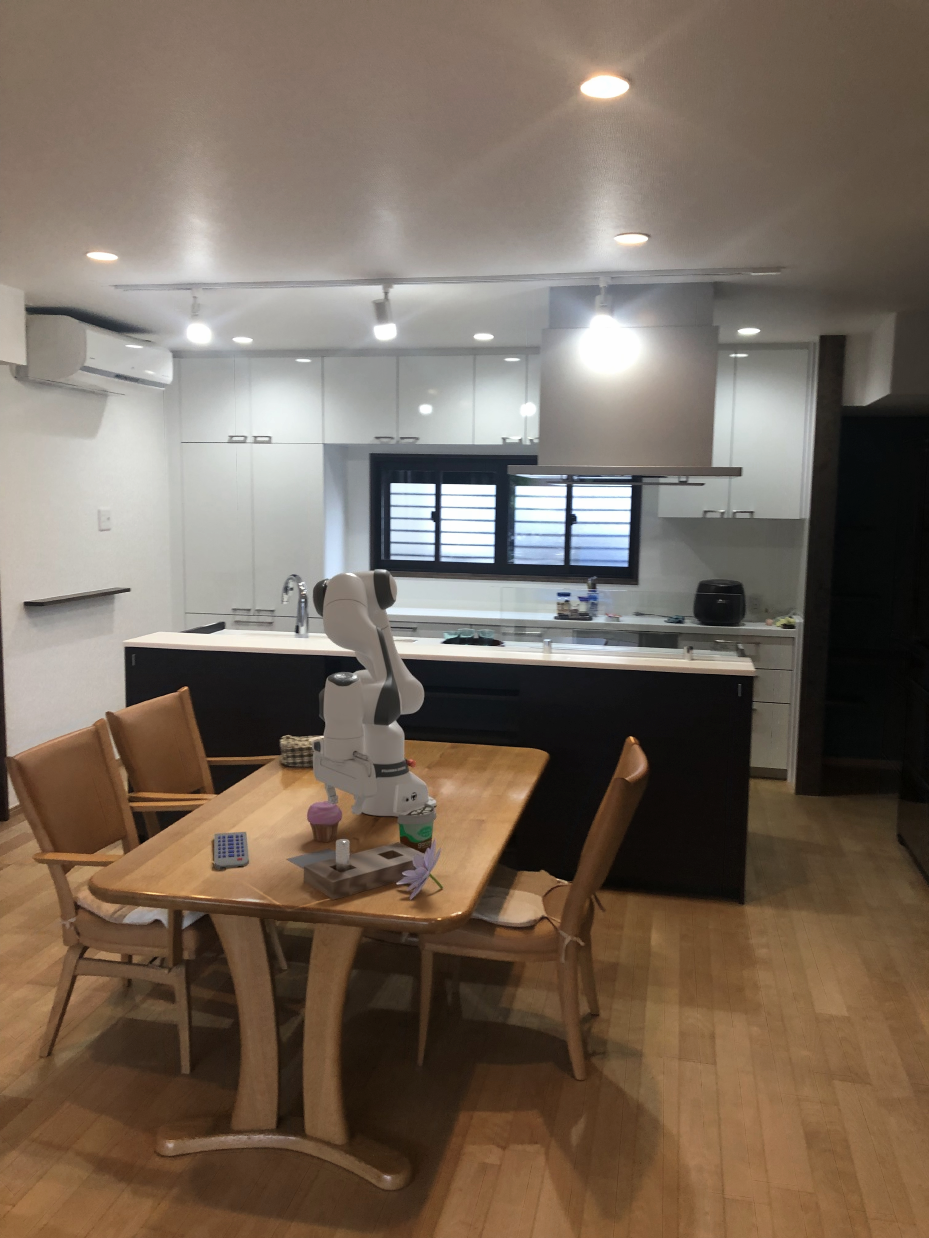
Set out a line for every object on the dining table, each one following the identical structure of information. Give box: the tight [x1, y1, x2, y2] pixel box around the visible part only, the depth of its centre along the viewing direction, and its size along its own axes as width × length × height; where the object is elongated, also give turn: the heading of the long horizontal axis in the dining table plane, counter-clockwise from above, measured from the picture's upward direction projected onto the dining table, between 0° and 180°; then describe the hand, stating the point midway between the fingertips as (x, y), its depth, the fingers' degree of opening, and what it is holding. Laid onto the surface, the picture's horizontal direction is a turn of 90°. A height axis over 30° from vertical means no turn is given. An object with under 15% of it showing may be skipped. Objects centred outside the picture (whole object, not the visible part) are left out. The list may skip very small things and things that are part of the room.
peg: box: [335, 838, 350, 872], centre depth 213 cm, size 3×3×10 cm
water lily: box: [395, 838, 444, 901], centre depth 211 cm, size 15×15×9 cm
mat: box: [286, 848, 336, 870], centre depth 227 cm, size 12×12×1 cm
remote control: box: [213, 831, 250, 871], centre depth 232 cm, size 8×23×2 cm, turn 14°
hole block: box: [303, 841, 425, 901], centre depth 217 cm, size 26×12×4 cm, turn 130°
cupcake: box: [306, 800, 343, 843], centre depth 242 cm, size 9×9×10 cm
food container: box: [396, 803, 438, 854], centre depth 236 cm, size 12×6×10 cm, turn 148°
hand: (344, 808), depth 211 cm, fingers open, 8 cm apart
